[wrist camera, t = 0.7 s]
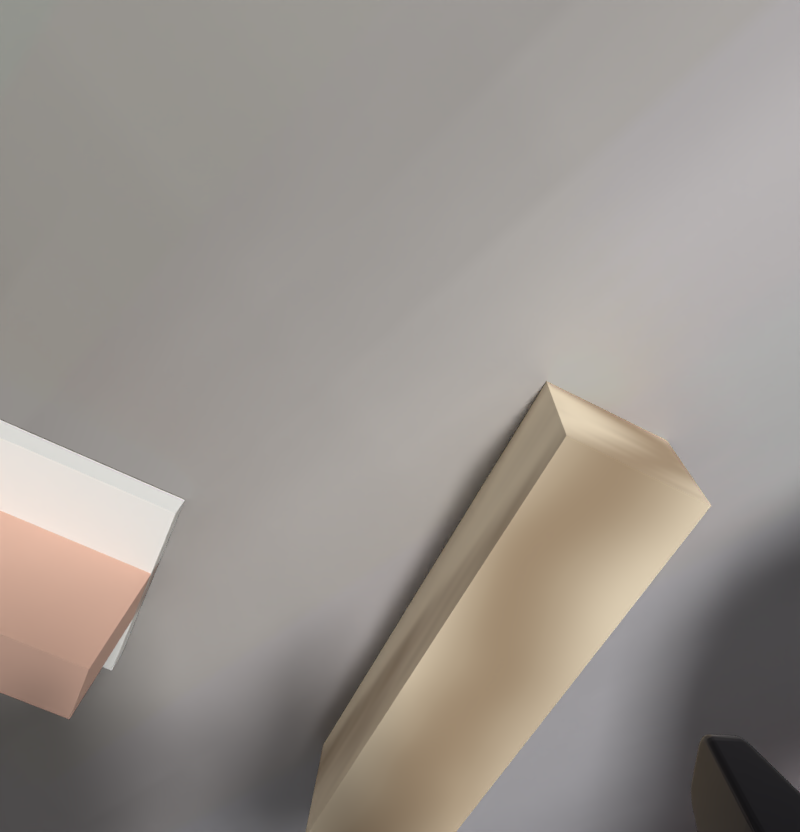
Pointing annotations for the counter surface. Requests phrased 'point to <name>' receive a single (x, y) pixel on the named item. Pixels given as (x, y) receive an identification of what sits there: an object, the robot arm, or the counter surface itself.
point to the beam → (506, 617)
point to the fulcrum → (70, 566)
